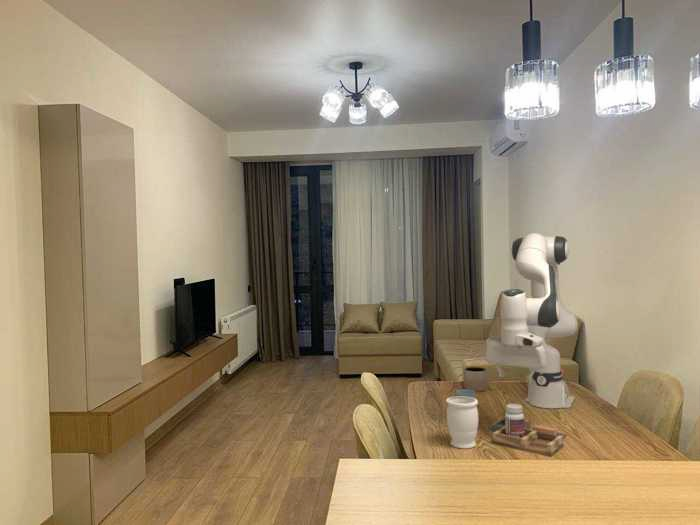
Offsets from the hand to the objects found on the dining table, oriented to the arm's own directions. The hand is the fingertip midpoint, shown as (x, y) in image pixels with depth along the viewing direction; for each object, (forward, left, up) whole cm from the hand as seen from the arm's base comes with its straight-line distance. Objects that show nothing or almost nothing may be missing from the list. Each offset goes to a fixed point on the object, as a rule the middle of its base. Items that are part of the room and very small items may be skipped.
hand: (515, 378), depth 176 cm
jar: (+13, -13, -22) cm, 28 cm away
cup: (-13, -26, -22) cm, 36 cm away
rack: (+1, +4, -21) cm, 22 cm away
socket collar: (-11, -7, -21) cm, 25 cm away
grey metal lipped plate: (-10, +7, -21) cm, 24 cm away
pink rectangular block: (-7, +7, -21) cm, 23 cm away
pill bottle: (+1, 0, -21) cm, 21 cm away
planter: (-56, -44, -22) cm, 75 cm away
